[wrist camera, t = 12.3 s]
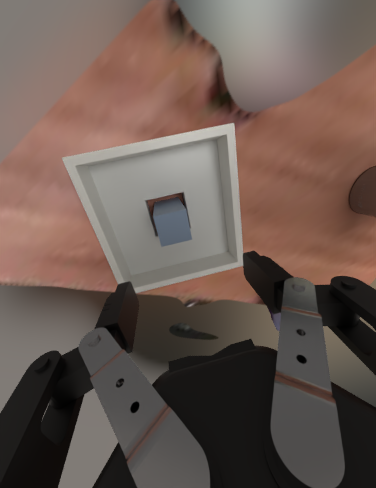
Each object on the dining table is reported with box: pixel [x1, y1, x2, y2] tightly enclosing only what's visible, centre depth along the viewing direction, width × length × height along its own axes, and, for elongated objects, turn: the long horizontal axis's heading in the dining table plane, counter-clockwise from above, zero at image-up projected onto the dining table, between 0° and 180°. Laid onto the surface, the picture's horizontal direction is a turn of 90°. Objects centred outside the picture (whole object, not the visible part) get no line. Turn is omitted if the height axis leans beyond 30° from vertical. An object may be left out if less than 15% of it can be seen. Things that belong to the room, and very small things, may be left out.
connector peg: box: [153, 197, 192, 247], centre depth 26 cm, size 4×4×10 cm
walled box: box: [62, 123, 243, 293], centre depth 27 cm, size 20×20×7 cm
